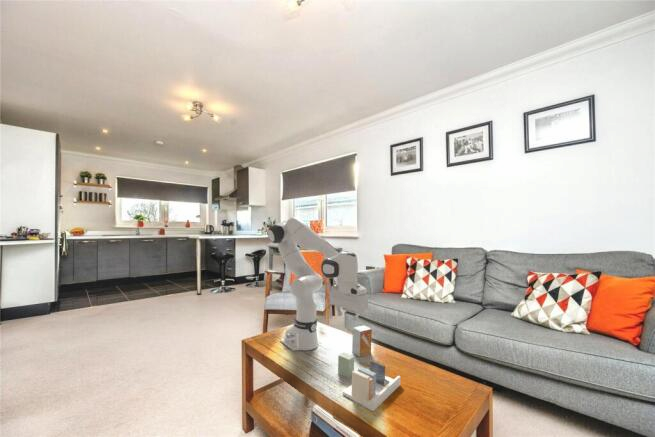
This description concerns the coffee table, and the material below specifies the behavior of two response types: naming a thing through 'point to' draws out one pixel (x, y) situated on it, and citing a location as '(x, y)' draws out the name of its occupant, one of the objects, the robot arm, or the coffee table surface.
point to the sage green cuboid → (345, 364)
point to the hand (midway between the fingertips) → (347, 317)
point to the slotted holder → (371, 386)
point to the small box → (361, 340)
